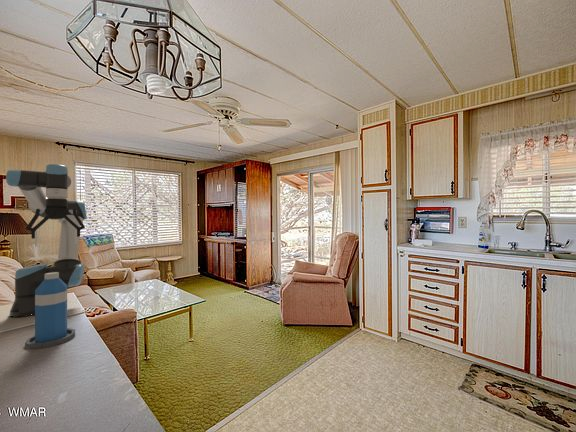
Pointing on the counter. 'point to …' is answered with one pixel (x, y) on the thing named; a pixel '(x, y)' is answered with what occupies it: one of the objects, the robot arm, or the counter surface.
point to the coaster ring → (32, 345)
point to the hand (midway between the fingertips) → (56, 245)
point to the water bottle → (50, 309)
